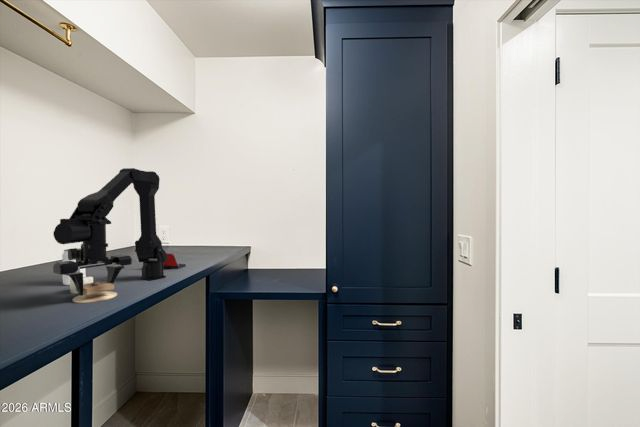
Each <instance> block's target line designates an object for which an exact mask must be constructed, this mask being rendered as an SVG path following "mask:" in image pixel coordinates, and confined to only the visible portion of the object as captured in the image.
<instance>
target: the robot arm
mask: <svg viewBox="0 0 640 427" xmlns="http://www.w3.org/2000/svg"><path fill="white" fill-rule="evenodd" d="M160 180H161V179H160V176H159V174H157V172H156V171H151V170H149V171H145V170H141V169H137V168H134V167H132V168H129V167H126V168H122V169H120V170H119V171H118V174H115V176H114V177H113V178H112V179H110V180H109V181H108V182H107V183H106V184H105V185H104V186H103V187H102V188H101V189H100V190H98V191H96V192H93V193H90V194H88V195H86V196H85V197H83V198H80V200H79V201H78V202H77V206H76V207H75V209H74V211H73V212H72V214H71V215H70V216H69V218H60V219H59V223H58V224H57V225H56V226H55V229H54V230H53V238H54V240H55V241H56V242H57V244H59V245H68V244H76V243H81V244H80V248H81V249H80V250H77V249H78V248H77V247H74V248H68V249H69V250H68V259H69V260H76V262H73V261H64V262H62V261H59V262H55V263H54V264H53V265H52V266H53V267H52V268H53V270H52V271H53V273H54V274H57V275H62V276H63V274H64V275H67V276H69V277H70V278H71V279H72V281H73V282H74V284H75V286H76V288H77V290H78V293H77V294H78V296H79V295H80V296H82V295H83V294H84V293H83V273H81V272H80V269H83V268H86V269H89V268H95V267H103V266H105V269H106V270H107V271H106V272H107V275H106V276H107V277H106V280H107V281H106V282H108V283H112V284H114V283H115V281H116V279H117V277H118V275H119V274H120V272H121V271H122V269H125V266H129V265H130V266H131V265H132V263H133V260H132V259H133V258H132V257H131V256H130V255H127V254H115V255H110V257H109V256H107V248H108V247H109V243H108V242H107V226H106V225H111V224H112V221H111V220H109V219H108V218H107V216H108V215H109V213H110V212H111V211H112V209H113V208H114V202H115V200H117V198H119V196H120V195H121V194H122V193H123V192H125V190H126V189H128V187H129V186H131V184H132V185H133V188H134V191H135V193H137V195H138V198H139V199H138V200H139V201H138V202H139V216H140V237H139V238H138V240H135V242H134V247H135V249H134V252H135V254H136V256H137V259H138V262H139V263H142V266H141V276H140V279H142V280H146V281H154V280H157V279H165V278H167V275H164V269H163V262H165V261H167V258H168V255H167V254H168V253H167V252H166V251H165V250H164V248H163V244H162V240H161V239H160V237H159V236H158V235H157V224H156V223H157V222H156V220H157V218H156V200H155V197H156V193H157V192H158V190H159V189H160Z"/></svg>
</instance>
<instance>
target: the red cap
mask: <svg viewBox="0 0 640 427" xmlns="http://www.w3.org/2000/svg"><path fill="white" fill-rule="evenodd" d="M166 254H167V255H168V258H167V261H165V262H163V270H179V269H182V268H185V267H186V266H187V265H186V263H185V264H184V263H178V262H177V260H176V257H175V255H174V254H173V253H166Z"/></svg>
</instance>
